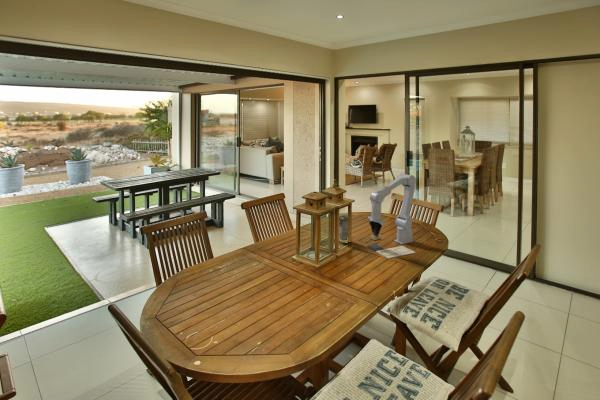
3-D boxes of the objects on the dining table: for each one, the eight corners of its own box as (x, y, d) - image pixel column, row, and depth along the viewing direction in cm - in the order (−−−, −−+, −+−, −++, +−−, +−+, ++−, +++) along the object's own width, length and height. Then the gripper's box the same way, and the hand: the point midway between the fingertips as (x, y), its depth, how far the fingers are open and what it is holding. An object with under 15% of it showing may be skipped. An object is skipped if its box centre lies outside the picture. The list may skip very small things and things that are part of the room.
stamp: (376, 238, 225) (377, 227, 223) (381, 239, 221) (381, 228, 220) (370, 239, 223) (370, 228, 221) (374, 241, 219) (374, 229, 218)
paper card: (402, 246, 226) (402, 245, 225) (415, 252, 215) (415, 252, 215) (375, 251, 218) (375, 250, 218) (388, 258, 207) (388, 257, 207)
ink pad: (376, 245, 228) (376, 243, 227) (383, 249, 222) (383, 247, 221) (367, 247, 225) (367, 245, 225) (373, 251, 219) (373, 248, 218)
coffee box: (335, 239, 240) (336, 216, 236) (344, 238, 242) (345, 215, 238) (341, 244, 232) (341, 220, 228) (350, 242, 233) (350, 219, 230)
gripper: (363, 210, 223) (363, 231, 226) (378, 215, 210) (377, 237, 213) (373, 208, 226) (372, 229, 229) (387, 214, 213) (387, 236, 216)
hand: (375, 233), depth 221 cm, fingers closed on stamp, 3 cm apart
